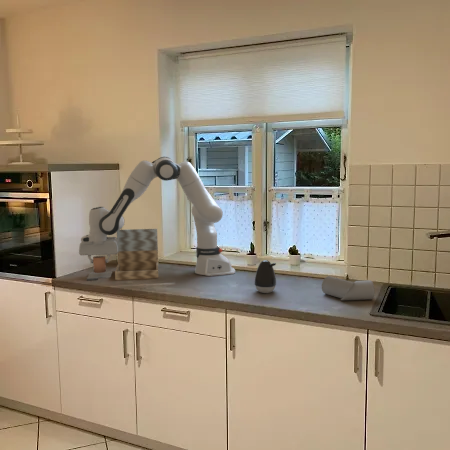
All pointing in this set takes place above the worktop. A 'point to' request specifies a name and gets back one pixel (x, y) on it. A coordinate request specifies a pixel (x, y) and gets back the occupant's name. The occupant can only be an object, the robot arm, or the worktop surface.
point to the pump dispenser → (265, 277)
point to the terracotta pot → (99, 264)
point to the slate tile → (99, 275)
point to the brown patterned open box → (137, 254)
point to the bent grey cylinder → (348, 289)
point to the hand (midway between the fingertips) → (99, 262)
